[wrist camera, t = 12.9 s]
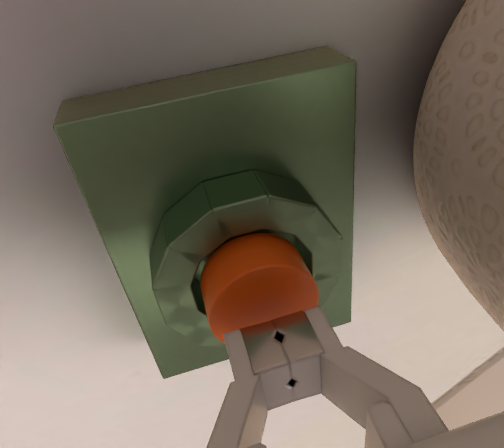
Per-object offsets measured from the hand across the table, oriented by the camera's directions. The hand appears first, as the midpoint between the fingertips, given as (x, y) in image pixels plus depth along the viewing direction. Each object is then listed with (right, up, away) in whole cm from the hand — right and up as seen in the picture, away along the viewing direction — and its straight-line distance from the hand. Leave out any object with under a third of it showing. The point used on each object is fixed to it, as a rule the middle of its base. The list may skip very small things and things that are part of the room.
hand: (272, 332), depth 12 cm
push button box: (-2, +4, +5) cm, 6 cm away
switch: (-1, +1, +2) cm, 3 cm away
